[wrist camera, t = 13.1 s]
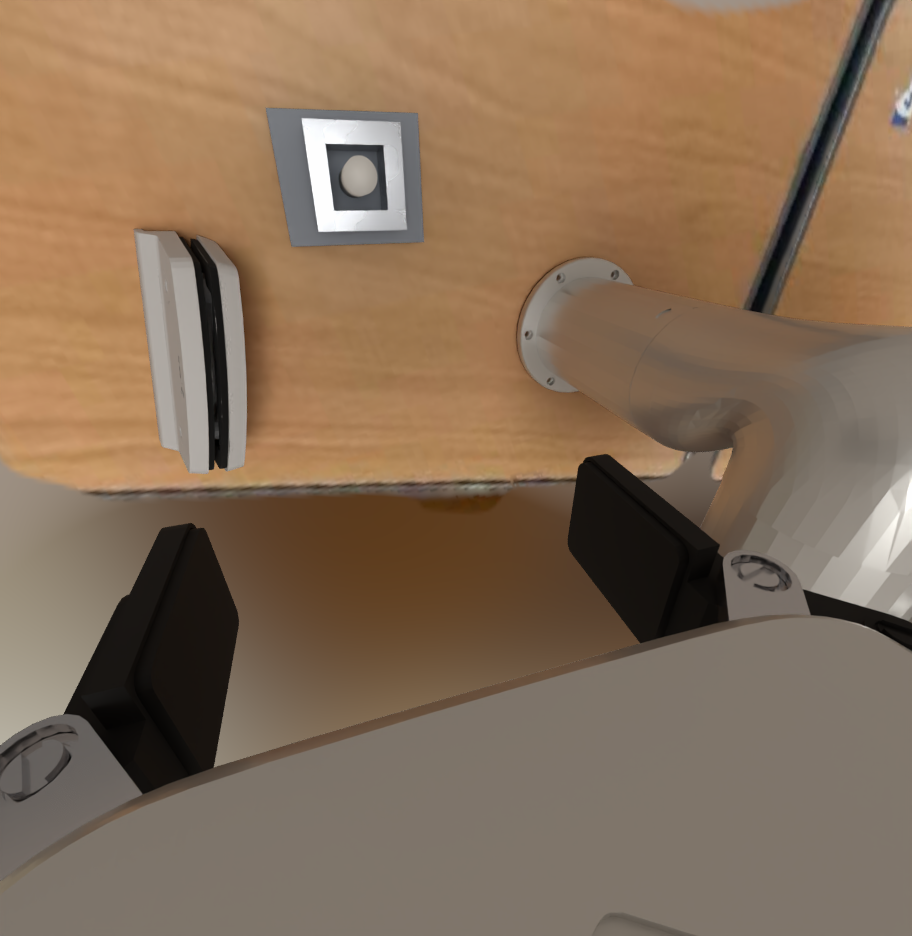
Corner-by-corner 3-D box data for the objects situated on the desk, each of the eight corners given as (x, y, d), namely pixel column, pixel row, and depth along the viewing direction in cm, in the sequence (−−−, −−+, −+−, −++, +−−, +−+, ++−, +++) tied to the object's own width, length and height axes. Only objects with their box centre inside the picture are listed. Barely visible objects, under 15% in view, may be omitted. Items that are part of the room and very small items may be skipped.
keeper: (414, 116, 31) (438, 93, 25) (421, 241, 35) (443, 246, 29) (267, 110, 29) (256, 85, 23) (292, 245, 33) (287, 252, 27)
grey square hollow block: (392, 130, 30) (400, 122, 28) (398, 228, 34) (406, 229, 31) (302, 127, 29) (301, 118, 26) (317, 230, 32) (318, 231, 29)
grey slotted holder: (132, 222, 30) (148, 239, 23) (210, 235, 33) (244, 253, 26) (159, 442, 37) (177, 503, 31) (221, 437, 40) (250, 492, 33)
